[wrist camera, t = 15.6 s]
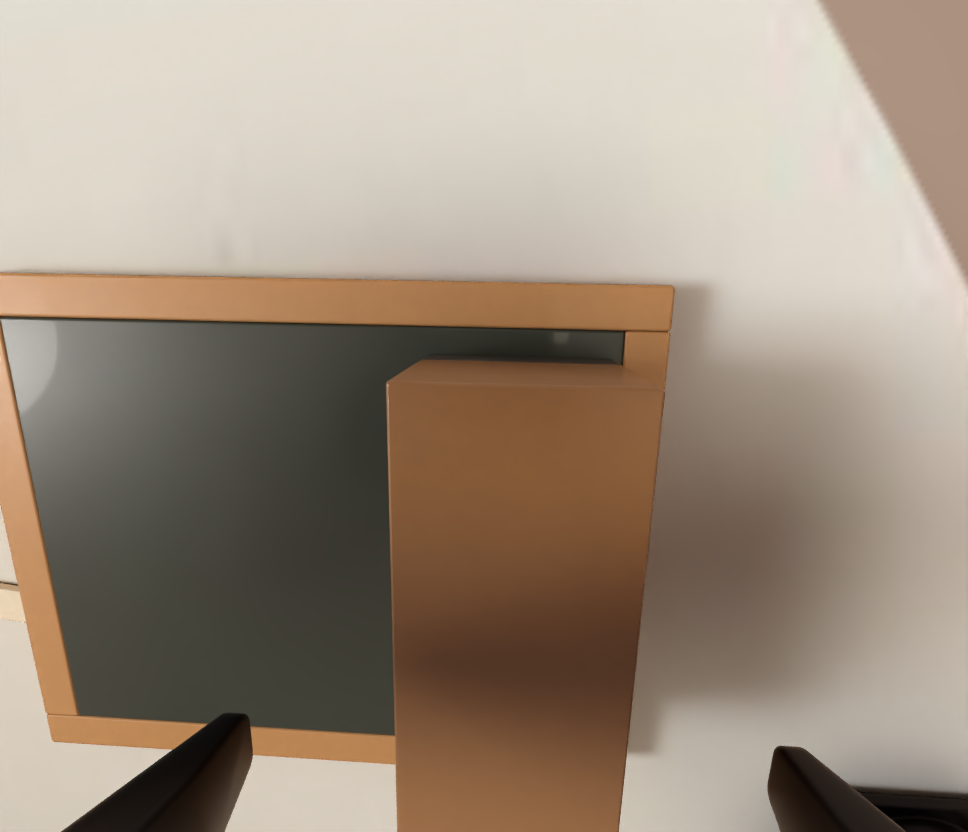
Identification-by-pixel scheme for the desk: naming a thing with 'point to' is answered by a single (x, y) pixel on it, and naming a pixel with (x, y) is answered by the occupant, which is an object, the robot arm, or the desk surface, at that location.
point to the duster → (517, 587)
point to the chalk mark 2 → (11, 603)
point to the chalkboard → (239, 486)
